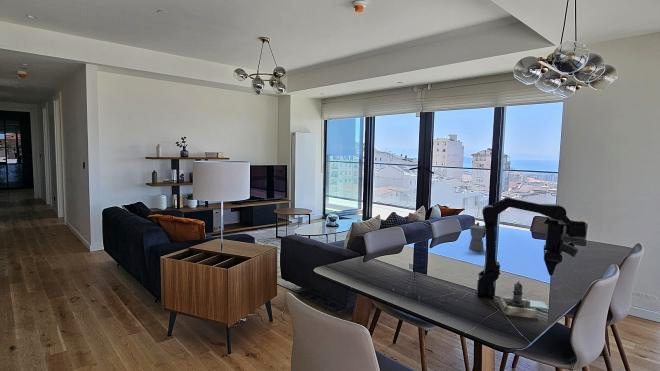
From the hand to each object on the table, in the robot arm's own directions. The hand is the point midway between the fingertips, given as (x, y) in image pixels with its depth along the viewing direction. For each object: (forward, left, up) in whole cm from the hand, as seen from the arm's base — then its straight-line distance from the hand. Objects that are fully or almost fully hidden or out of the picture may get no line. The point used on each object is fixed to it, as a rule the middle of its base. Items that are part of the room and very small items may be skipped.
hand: (550, 272), depth 154 cm
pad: (-5, -2, -14) cm, 15 cm away
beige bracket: (-14, -10, -14) cm, 23 cm away
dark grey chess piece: (-14, -10, -14) cm, 23 cm away
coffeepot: (-15, +92, -14) cm, 94 cm away
